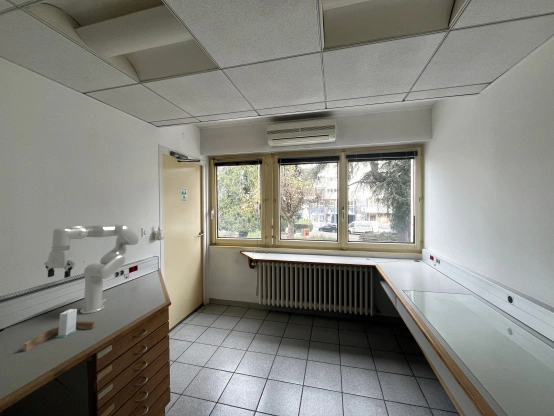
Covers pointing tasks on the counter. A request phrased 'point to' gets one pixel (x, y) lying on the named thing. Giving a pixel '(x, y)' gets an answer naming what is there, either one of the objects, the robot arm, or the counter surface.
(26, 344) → the wooden corner frame
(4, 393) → the counter surface
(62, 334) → the skincare box
